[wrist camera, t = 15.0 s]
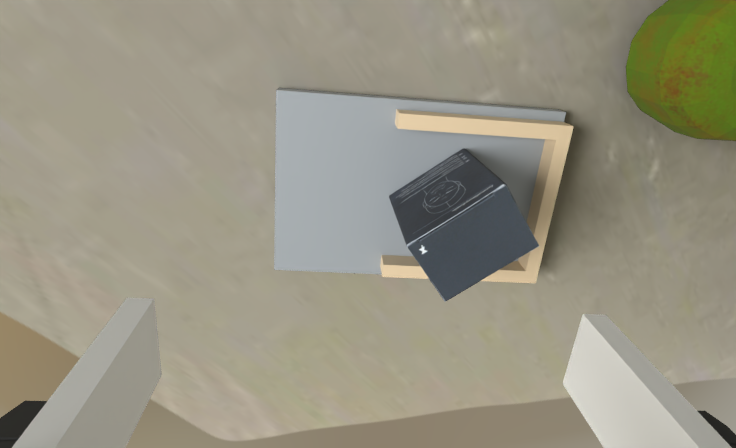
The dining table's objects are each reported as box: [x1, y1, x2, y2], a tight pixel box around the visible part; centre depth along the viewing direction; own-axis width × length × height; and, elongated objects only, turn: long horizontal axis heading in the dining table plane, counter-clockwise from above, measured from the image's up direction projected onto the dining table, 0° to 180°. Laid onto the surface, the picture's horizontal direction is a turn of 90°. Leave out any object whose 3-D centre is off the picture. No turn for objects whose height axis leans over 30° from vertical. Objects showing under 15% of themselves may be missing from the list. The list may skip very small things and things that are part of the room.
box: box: [389, 148, 539, 301], centre depth 37 cm, size 8×6×11 cm
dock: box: [274, 88, 574, 283], centre depth 42 cm, size 24×16×4 cm, turn 85°
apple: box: [626, 0, 736, 141], centre depth 36 cm, size 11×11×11 cm
